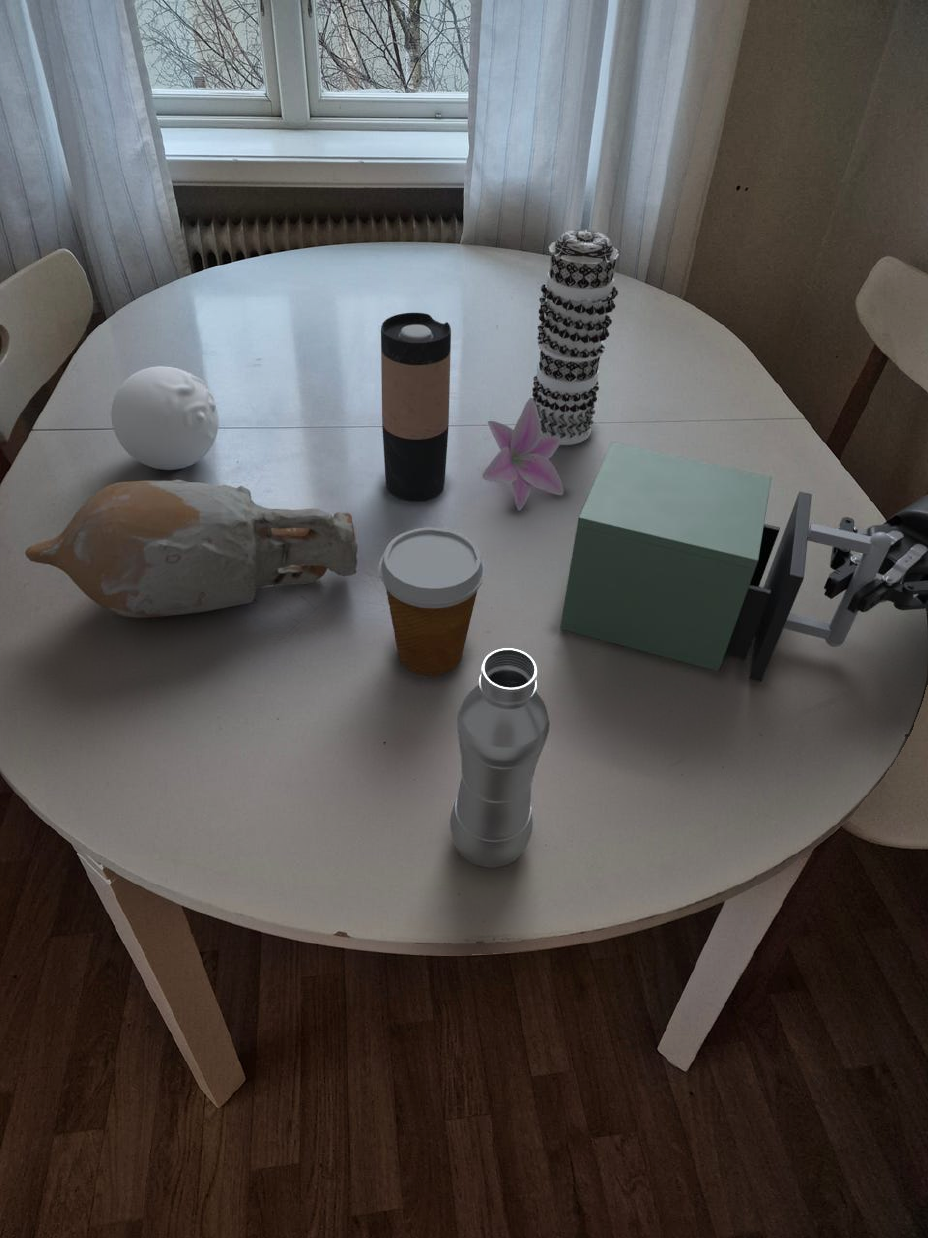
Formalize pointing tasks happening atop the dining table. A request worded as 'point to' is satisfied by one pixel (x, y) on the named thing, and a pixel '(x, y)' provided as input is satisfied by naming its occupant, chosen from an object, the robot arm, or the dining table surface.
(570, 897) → the dining table surface
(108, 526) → the amphora
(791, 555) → the black drawer with handle
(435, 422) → the travel mug
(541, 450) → the lily
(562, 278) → the black and white cylinder
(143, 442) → the decorative ball
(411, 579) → the disposable coffee cup
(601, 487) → the green drawer cabinet
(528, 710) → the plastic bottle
